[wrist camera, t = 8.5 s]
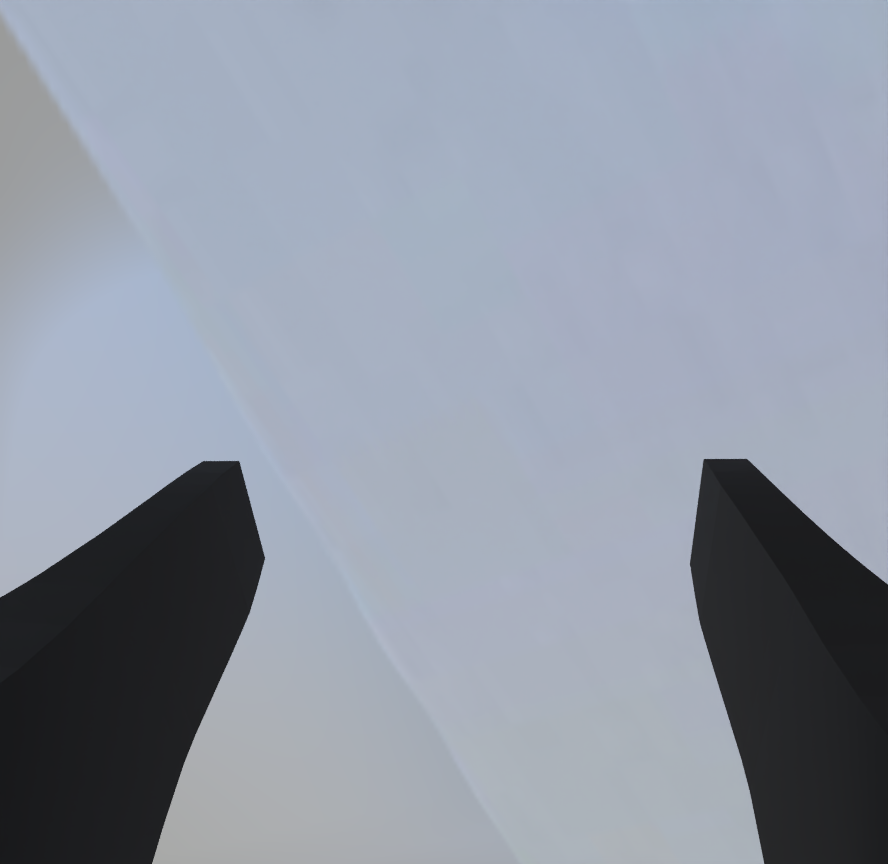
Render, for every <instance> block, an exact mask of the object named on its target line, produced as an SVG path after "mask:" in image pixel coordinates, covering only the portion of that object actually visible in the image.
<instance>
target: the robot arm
mask: <svg viewBox="0 0 888 864" xmlns="http://www.w3.org/2000/svg"><path fill="white" fill-rule="evenodd" d="M264 560H265V557H264V553H263V549H262V545H261V541H260V538H259V534H258V530H257V526H256V523H255V519H254V515H253V511H252V508H251V504H250V500H249V496H248V493H247V489H246V485H245V481H244V478H243V474H242V470H241V466H240V463H239V461H203V462H201V463H200V464H198V465H197V466H195V467H193V468H192V469H190V470H189V471H187V472H186V473H184V474H183V475H181V476H180V477H178V478H177V479H176V480H174V481H173V482H171V483H170V484H168V485H167V486H166V487H164V488H163V489H162V490H160V491H159V492H157V493H156V494H155V495H153V496H152V497H151V498H150V499H148V500H147V501H145V502H144V503H142V504H141V505H140V506H138V507H137V508H135V509H134V510H133V511H131V512H130V513H129V514H127V515H126V516H124V517H123V518H122V519H120V520H119V521H117V522H116V523H115V524H113V525H112V526H110V527H109V528H108V529H106V530H105V531H104V532H102V533H101V534H99V535H98V536H96V537H95V538H93V539H92V540H90V541H89V542H87V543H86V544H84V545H83V546H81V547H80V548H78V549H77V550H75V551H74V552H72V553H71V554H69V555H68V556H66V557H65V558H63V559H62V560H60V561H59V562H57V563H56V564H54V565H53V566H51V567H50V568H48V569H47V570H45V571H44V572H42V573H41V574H39V575H37V576H36V577H34V578H32V579H31V580H29V581H28V582H26V583H25V584H23V585H21V586H19V587H18V588H16V589H14V590H13V591H11V592H9V593H8V594H6V595H4V596H2V597H0V864H152V862H153V858H154V855H155V852H156V849H157V845H158V842H159V839H160V835H161V832H162V828H163V825H164V822H165V819H166V816H167V813H168V810H169V807H170V804H171V801H172V798H173V795H174V792H175V789H176V786H177V782H178V780H179V777H180V774H181V771H182V768H183V765H184V762H185V759H186V757H187V754H188V752H189V749H190V747H191V744H192V741H193V739H194V737H195V734H196V732H197V730H198V728H199V726H200V723H201V721H202V719H203V716H204V714H205V712H206V710H207V707H208V705H209V703H210V701H211V699H212V697H213V694H214V692H215V690H216V688H217V685H218V683H219V681H220V679H221V677H222V674H223V672H224V670H225V668H226V665H227V663H228V661H229V659H230V657H231V654H232V652H233V650H234V647H235V645H236V643H237V640H238V638H239V636H240V634H241V632H242V629H243V627H244V625H245V622H246V620H247V617H248V615H249V613H250V609H251V606H252V602H253V600H254V596H255V593H256V590H257V586H258V582H259V579H260V575H261V571H262V567H263V564H264ZM690 567H691V573H692V579H693V585H694V592H695V598H696V603H697V609H698V615H699V620H700V625H701V628H702V632H703V635H704V639H705V642H706V645H707V648H708V652H709V655H710V658H711V662H712V665H713V668H714V672H715V675H716V678H717V681H718V685H719V688H720V691H721V694H722V698H723V701H724V704H725V707H726V710H727V714H728V717H729V720H730V723H731V727H732V730H733V733H734V736H735V740H736V743H737V746H738V749H739V753H740V756H741V759H742V763H743V767H744V770H745V774H746V778H747V782H748V786H749V790H750V794H751V799H752V804H753V809H754V814H755V819H756V824H757V829H758V834H759V839H760V844H761V849H762V854H763V859H764V864H888V584H886V583H885V582H884V581H883V580H881V579H880V578H879V577H878V576H876V575H875V574H874V573H872V572H871V571H870V570H869V569H867V568H866V567H865V566H864V565H862V564H861V563H860V562H859V561H858V560H856V559H855V558H854V557H853V556H852V555H850V554H849V553H848V552H847V551H846V550H844V549H843V548H842V547H841V546H840V545H839V544H838V543H836V542H835V541H834V540H833V539H832V538H831V537H830V536H828V535H827V534H826V533H825V532H824V531H823V530H822V529H821V528H819V527H818V526H817V525H816V524H815V523H814V522H813V521H812V520H811V519H810V518H808V517H807V516H806V515H805V514H804V513H803V512H802V511H801V510H800V509H799V508H798V507H797V506H796V505H795V504H794V503H792V502H791V501H790V500H789V499H788V498H787V497H786V496H785V495H784V494H783V493H782V492H781V491H780V490H779V489H778V488H777V487H776V486H775V485H774V484H773V483H772V482H771V481H769V480H768V479H767V478H766V477H765V476H764V475H763V474H762V473H761V472H760V471H759V470H758V469H757V468H756V467H755V466H754V465H753V464H752V463H751V462H750V461H748V460H747V459H704V461H703V469H702V477H701V484H700V492H699V499H698V507H697V515H696V522H695V530H694V538H693V545H692V553H691V560H690Z"/></svg>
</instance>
